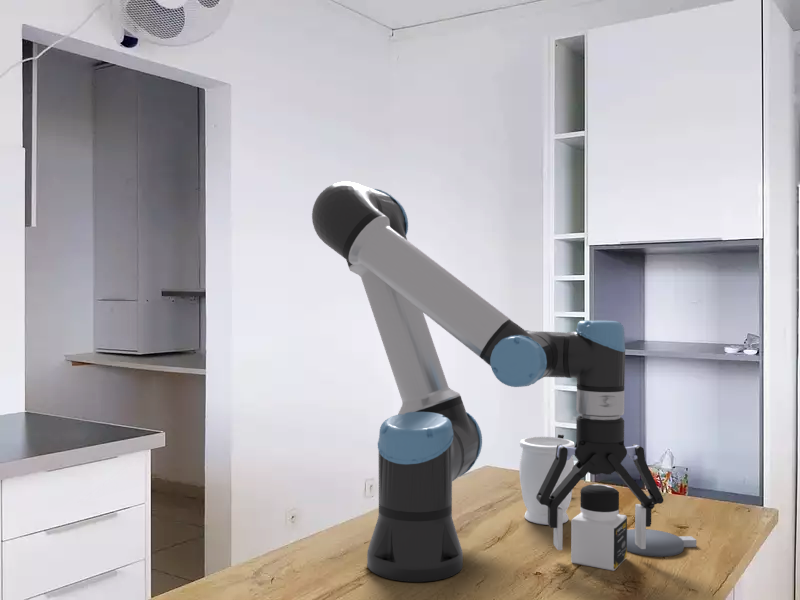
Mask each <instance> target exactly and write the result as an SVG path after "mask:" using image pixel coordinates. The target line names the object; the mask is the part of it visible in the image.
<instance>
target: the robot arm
mask: <svg viewBox="0 0 800 600" xmlns="http://www.w3.org/2000/svg"><path fill="white" fill-rule="evenodd" d="M408 220H409V218H408V216H407V212H406V210H405V208H404V206H403V205H402V204H401V202H400V201H399V200H397V199H396V198H395V197H393V196H392V195H391V194H389V193H388V192H386V191H383V190H382V189H377V188H371V187H367V186H365V185H361V184H360V183H356V182H351V181H341V182H337V183H333V184H332V185H329V186H327V187H326V188H324V189H323V191H321V192H320V193H319V195H318V196H317V198H316V200H315V201H314V204H313V207H312V213H311V221H312V225H313V229H314V231H315V232H316V235H317V236H318V238H319V239H320V240H321V241H322V242H323V243H324V244H325V245H327V246H328V247H329V248H330V249H332V250H333V251H334V252H335V253H337V254H339V255H340V256H341V257H342V258H343V259H344V260H346V263H347V266H348V269H349V271H350V272H351V273H354V274H356V275H358V276H359V277H360V278H361V281H362V282H361V283H362V285H363V288H364V290H365V293H366V296H367V300H368V302H369V305H370V308H371V311H372V315H373V317H374V321H375V323H376V327H377V330H378V332H379V336H380V338H381V339H380V340H381V341H382V345H383V347H384V350H385V354H386V356H387V359H388V362H389V366H390V368H391V372H392V375H393V377H394V380H395V383H396V386H397V390H398V393H399V395H400V399H401V401H402V403H401V407H400V409H399V410H398V412H397V413H398V414H395V415H393V416H390V417H388V418H387V419H385V420H384V421H383V422H382V423H381V426H380V428H379V435H378V436H379V437H378V441H377V450H378V515H377V516H378V518H377V521H376V523H375V526H374V530H373V532H372V535H371V539H370V542H369V545H368V548H367V552H366V553H367V554H366V555H367V557H366V558H367V561H366V562H367V563H366V565H367V568H368V570H369V571H371V572H372V573H374V574H375V575H377V576H379V577H381V578H385V579H389V580H393V581H400V582H413V583H416V582H417V583H419V582H433V581H440V580H444V579H447V578H450V577H453V576H455V575H457V574H458V573H460V572H461V571H462V569H463V564H464V562H463V560H464V559H463V558H464V557H463V556H464V555H463V549H462V546H461V542H460V539H459V536H458V533H457V530H456V527H455V523H454V520H453V513H452V512H453V510H452V509H453V498H452V497H453V481H455V480H456V479H458V478H459V477H461V476H463V475H465V474H466V473H468V472H469V471H470V470H471V469H472V467H473V466H474V465H475V463H476V462H477V460H478V459H479V457H480V454H481V452H482V448H483V436H482V435H483V434H482V431H481V427H480V426H479V423H478V421H477V420H476V419H475V418H474V417H473V415H471V414H470V413H469V412H467V411H466V408H465V405H464V402H463V400H462V396H461V394H460V393H459V392H457V391H455V390H453V389H452V388H451V387H449V384H448V381H447V379H446V376H445V373H444V370H443V367H442V364H441V361H440V358H439V354H438V353H437V350H436V346H435V343H434V341H433V338H432V335H431V333H430V328H429V326H428V323H427V320H426V318H425V317H426V316H427V317H428V318H430V319H431V320H432V321H433V322H434V323H436V325H439V326H440V327H441V328H442V329H444V330H445V331H446V332H447V333H449V334H450V335H451V336H452V337H454V338H455V339H456V340H458V341H459V343H461V344H463V346H465V347H466V348H468V349H469V350H470V351H471V352H473V354H475V355H476V356H478V357H479V358H480V359H481V360H483V362H485V363H486V364H487V365H488V366H489V367H490V368H491V370H492V373H493V376H494V377H495V378H496V379H497V380H498V381H499V382H501V384H503V385H505V386H508V387H511V388H512V387H513V388H523V387H529V386H531V385H534V384H535V383H537V382H538V381H540V380H541V379H543V378H567V379H572V378H573V379H574V378H575V379H576V409H575V410H576V413H577V414H578V415H577V417H576V419H575V420H576V423H575V424H576V427H575V429H576V433H575V434H576V435H575V438H576V442H575V444H574V447H565V446H563V445H561V444H559V445H558V446H557V448H556V457H555V460H554V462H553V464H552V466H551V468H550V470H549V472H548V474H547V476H546V478H545V480H544V482H543V484H542V486H541V488H540V490H539V492H538V494H537V496H536V499H537V500H538V501H539V502H540V504H542V505H546V506H548V524H549V525H548V526H549V527H550V528H551V529H553V546H554V547H555V548H556V550H557V551H563V535H564V534H563V533H564V532H563V527H564V526H563V524H564V523H563V509H562V508H561V507H560V506H559V505H560V504H561V502H562V501H563V500H564V499H565V498H566V496H567V495H568V494H569V493H570V492H571V490H572V489H574V488H575V487H576V486H577V484H578V483H579V482H580V481H581V480H582V479H583V478H585V477H586V475H588V473H589V474H590V475H592V476H593V475H595V476H596V475H597V476H598V475H600V474H602V475H603V474H604V475H612V474H613V473H615V474H616V475H617V476H618V477H619V478H620V479H621V480H622V482H623V483H624V484H625V486H626V487H628V489H629V490H630V491H631V492H632V494H633V495H634V496H635V498H637V500H638V501H639V502H640V503H635V504H634V505H635V510H634V513H635V514H634V516H635V517H634V518H635V519H634V520H635V521H634V525H635V526H634V528H635V544H636V545H637V546H638V547H639V548H640V549H646V529H647V528H649V527H650V528H651V525H652V510H653V509H654V508H655V505H657V504H659V505H660V504H663V503H664V498H663V495H662V493H661V490H660V489H659V486H658V484H657V482H656V481H655V478H654V476H653V474H652V472H651V470H650V468H649V465H648V464H647V461H646V458H645V457H646V456H645V449H644V447H643V446H640V445H639V444H637V443H633V444H632V445H631V446H625V420H624V418H623V417H621V416H623V415H624V414H625V383H626V382H625V381H626V380H625V378H626V375H625V374H626V373H625V372H626V343H625V342H626V341H625V328H624V325H623V324H622V323H621V322H619V321H618V320H617V321H616V320H603V319H602V320H600V319H598V320H591V319H590V320H584V319H583V320H579V322H577V326H576V328H575V331H568V332H564V331H563V332H562V331H561V332H559V331H536V330H526V329H524V328H523V327H521V326H520V325H518V324H517V323H515V322H514V321H513V320H511V318H509V317H508V316H507V315H505V313H503V312H502V311H500V310H499V309H498V308H496V307H495V306H493V304H491V303H490V302H488V301H487V300H486V299H485V298H483V297H482V296H481V295H479V294H478V293H477V292H476V291H474V290H473V289H471V288H470V287H469V286H468V285H466V284H465V283H463V281H461V280H459V279H458V278H457V277H456V276H455V275H453V274H452V273H450V272H449V271H448V270H447V269H446V268H444V267H442V266H441V265H440V264H439V263H438V262H437V261H435V260H433V259H432V258H431V257H430V256H429V255H427V254H426V253H424V252H423V251H422V250H421V249H419V248H418V247H417V246H415V244H413V243H411V242H410V241H409V240H408V238H407V234H408V231H409V221H408ZM424 314H425V315H424ZM627 455H628V457H629V458H630V459H631V460H632V461H633V463H634V465H635V467H636V469H637V471H638V474H639V476H640V478H641V481H642V482H643V484H644V486H645V488H646V490H647V492H648V494H649V495H647V494H646V493H645V492H644V491H643V489H642V488H641V487H640V485H639V484H638V483H637V482H636V480H634V478H633V476H631V474H630V473H629V472H628V470H627V469H626V468H625V467H624V466H623V464H622V462H623V461H624V460H625V458H626V456H627ZM571 456H574V457H575V458H576V459H577V462H576V463H574V466H573V468H572V470H571V472H570V473H569V474H568V475H567V476H566V478H565V479H564V480H563V481H562V482H561V484H560V485H559V486H558V487H557V488H556V490H555V491H554V492H553V493H552V491H553V489H554V487H555V485H556V483H557V481H558V479H559V477H560V475H561V473H562V471H563V469H564V467H565V465H566V461H567V460H569V459H570V458H571ZM572 491H573V490H572ZM551 493H552V494H551ZM550 495H551V496H550Z"/></svg>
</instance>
